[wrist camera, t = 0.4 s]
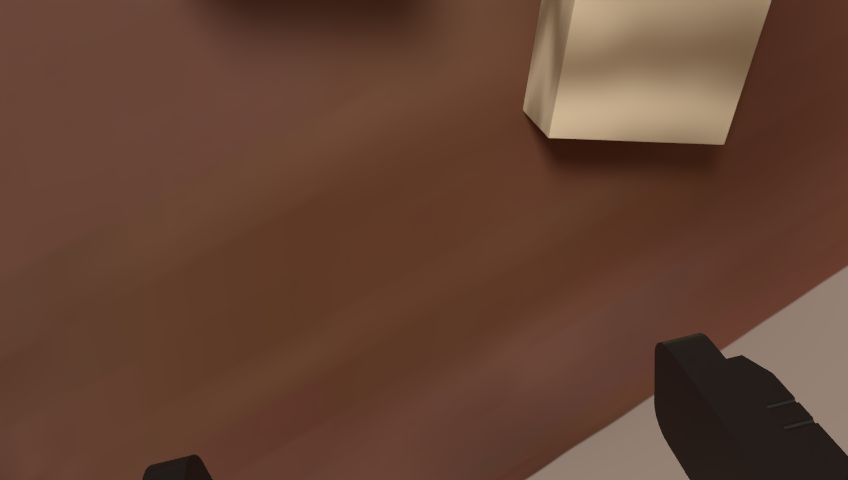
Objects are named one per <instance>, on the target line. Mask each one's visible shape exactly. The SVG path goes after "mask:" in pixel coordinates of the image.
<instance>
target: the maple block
mask: <svg viewBox="0 0 848 480" xmlns="http://www.w3.org/2000/svg"><path fill="white" fill-rule="evenodd" d="M770 3H771V0H541V6H540V12H539V18H538V24H537V29H536V35H535V41H534V47H533V53H532V59H531V65H530V71H529V77H528V83H527V89H526V95H525V101H524V107H523V111H524V112H525V113H526V114H527V115H528V116H529V117H530V119H531V120H532V121H533V122H534V123H535V124H536V125H537V126H538V127H539V128H540V129H541V130H542V131H543V132H544V134H545V135H546V136H547V137H548V138H564V139H589V140H615V141H640V142H666V143H691V144H717V145H724V143H725V140H726V137H727V134H728V131H729V128H730V125H731V122H732V119H733V116H734V113H735V110H736V107H737V104H738V101H739V98H740V95H741V92H742V89H743V86H744V82H745V79H746V76H747V73H748V70H749V67H750V64H751V61H752V58H753V55H754V52H755V49H756V46H757V43H758V40H759V37H760V34H761V31H762V28H763V25H764V22H765V19H766V16H767V13H768V10H769V7H770Z"/></svg>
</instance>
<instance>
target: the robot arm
mask: <svg viewBox="0 0 848 480" xmlns="http://www.w3.org/2000/svg"><path fill="white" fill-rule="evenodd" d="M654 404H655V412H656V417H657V420H658V423H659V426H660V429H661V431H662V434H663V436H664V438H665V439H666V441H667V443H668V445H669V446H670V448H671V450H672V451H673V453H674V454H675V456H676V458H677V459H678V461H679V463H680V464H681V466H682V467H683V469H684V471H685V473H686V474H687V476H688V477H689V479H690V480H848V456H847V455H846V454H845V452H843V450H842V449H841V448H840V447H839V446H838V445H837V444H836V443H835V442H834V440H833V439H832V438H831V437H830V436H829V435H828V434H827V433H826V432H825V430H824V429H823V428H822V427H820V425H819V424H818V423H815V422H814V421H813V417H812V416H811V415H810V414H809V413H808V412H807V411H806V410H805V408H804V407H803V406H802V405H801V404H800V403H799V402H798V403H797V402H796V401H795V398H794V396H793V395H792V394H791V393H790V392H789V391H788V390H787V389H786V387H785V386H784V385H783V384H782V383H781V382H780V381H779V380H778V379H777V378H776V376H775V375H774V374H773V373H771V372H770V371H768V370H766V369H764V368H763V367H761V366H759V365H758V364H756V363H754V362H753V361H751V360H749V359H747V358H746V357H744V356H742V355H741V356H737V357H733V358H728V359H726V358H725V357H724V356H723V355H722V353H721V352H720V351H719V350H718V349H717V347H716V346H715V345H714V344H713V343H712V341H711V340H710V339H709V338H708V337H707V336H706V335H704V334H702V333H697V334H693V335H689V336H685V337H681V338H677V339H673V340H669V341H665V342H661V343H658V344H657V345H656V348H655V393H654ZM142 480H212V478H211V476H210V474H209V472H208V471H207V469H206V467H205V465H204V463H203V462H202V460H201V459H200V457H199V456H197V455H190V456H186V457H182V458H178V459H174V460H170V461H166V462H162V463H158V464H154V465H150V466H149V467H148V468H147V469H146V471H145V473H144V476H143V479H142Z"/></svg>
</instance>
